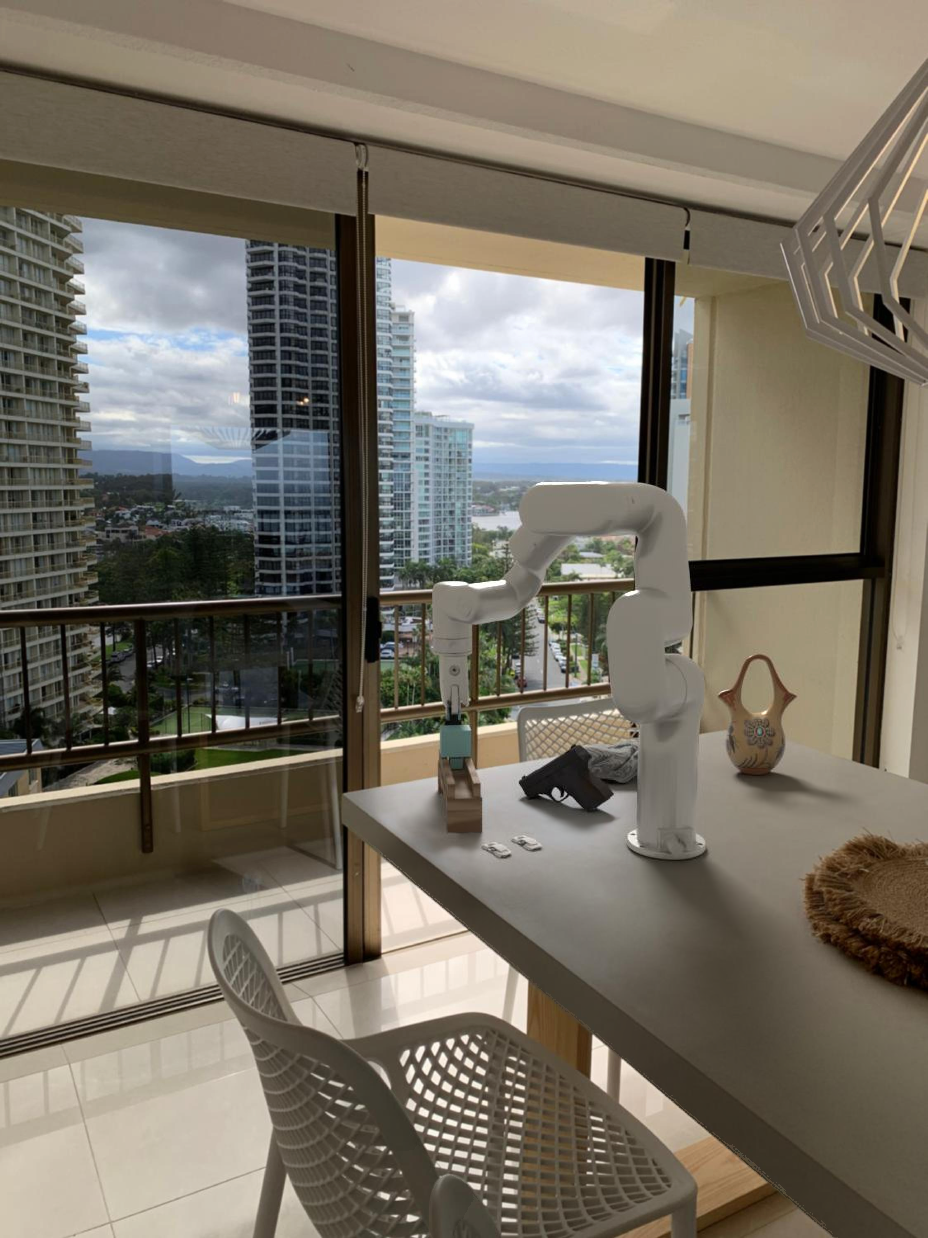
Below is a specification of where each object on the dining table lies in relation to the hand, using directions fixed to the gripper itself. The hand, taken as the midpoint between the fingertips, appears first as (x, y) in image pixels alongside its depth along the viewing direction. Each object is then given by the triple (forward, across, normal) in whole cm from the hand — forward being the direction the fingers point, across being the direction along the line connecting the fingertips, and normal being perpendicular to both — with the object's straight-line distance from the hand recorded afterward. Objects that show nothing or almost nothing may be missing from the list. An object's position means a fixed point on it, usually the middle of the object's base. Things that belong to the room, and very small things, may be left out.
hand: (453, 739), depth 179 cm
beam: (+10, -11, 0) cm, 15 cm away
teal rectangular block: (+4, -5, 0) cm, 7 cm away
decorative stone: (+11, +6, -33) cm, 35 cm away
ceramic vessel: (+11, +5, -63) cm, 64 cm away
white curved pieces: (+11, -31, -7) cm, 34 cm away
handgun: (+11, -10, -20) cm, 25 cm away
